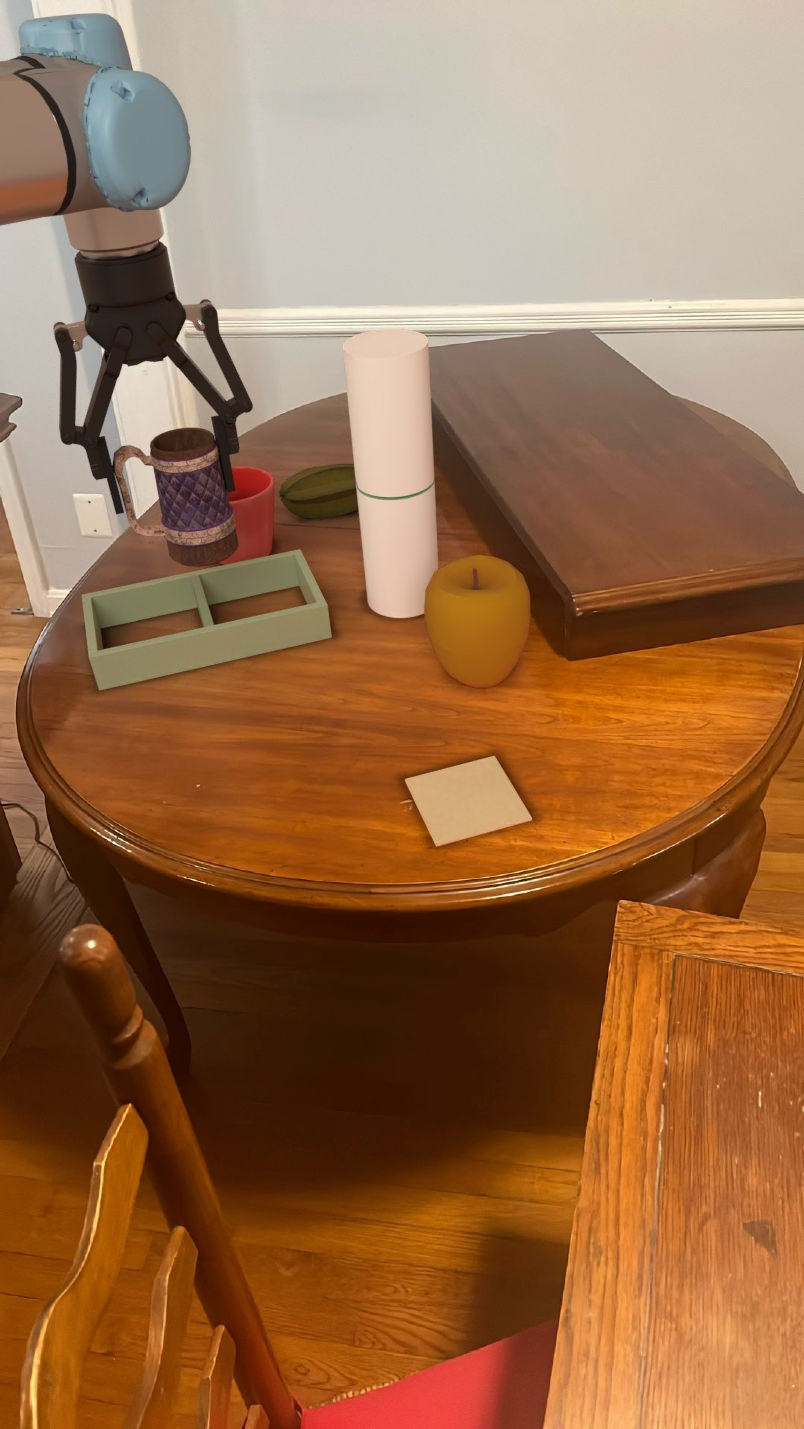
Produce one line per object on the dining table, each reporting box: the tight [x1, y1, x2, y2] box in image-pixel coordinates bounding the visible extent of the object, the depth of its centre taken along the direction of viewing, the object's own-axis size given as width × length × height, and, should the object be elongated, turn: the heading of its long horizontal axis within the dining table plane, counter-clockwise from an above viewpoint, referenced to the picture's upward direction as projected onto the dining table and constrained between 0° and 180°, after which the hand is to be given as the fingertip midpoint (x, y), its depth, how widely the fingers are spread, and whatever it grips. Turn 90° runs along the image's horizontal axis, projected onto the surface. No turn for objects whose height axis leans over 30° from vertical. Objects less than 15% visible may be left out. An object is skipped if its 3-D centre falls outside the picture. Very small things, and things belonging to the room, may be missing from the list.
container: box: [342, 328, 439, 619], centre depth 108 cm, size 9×9×30 cm
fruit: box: [278, 463, 359, 520], centre depth 134 cm, size 11×12×7 cm
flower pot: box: [218, 466, 276, 565], centre depth 126 cm, size 11×11×10 cm
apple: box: [423, 554, 531, 689], centre depth 102 cm, size 11×11×13 cm
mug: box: [112, 427, 239, 568], centre depth 95 cm, size 10×7×12 cm
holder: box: [81, 548, 333, 691], centre depth 113 cm, size 26×14×4 cm, turn 107°
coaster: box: [404, 755, 533, 848], centre depth 90 cm, size 9×9×1 cm
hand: (174, 496), depth 95 cm, fingers closed on mug, 10 cm apart
